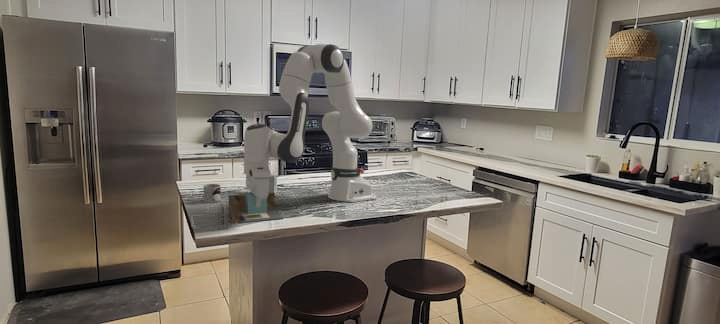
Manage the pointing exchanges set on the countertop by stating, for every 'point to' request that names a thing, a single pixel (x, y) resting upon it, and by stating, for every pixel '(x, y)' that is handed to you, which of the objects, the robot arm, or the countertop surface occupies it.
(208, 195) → the mug
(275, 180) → the medicine box
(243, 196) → the corner walls
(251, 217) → the mat
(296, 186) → the countertop surface
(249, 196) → the teal block
